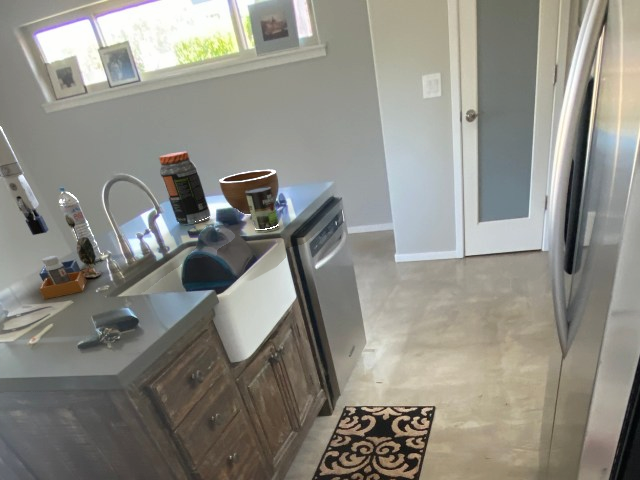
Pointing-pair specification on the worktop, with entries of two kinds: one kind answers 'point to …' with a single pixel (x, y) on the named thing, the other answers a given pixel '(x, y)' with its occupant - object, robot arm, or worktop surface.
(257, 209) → the coffee can
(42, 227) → the blue block
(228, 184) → the bowl
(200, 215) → the supplement tub
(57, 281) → the pill bottle
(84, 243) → the plant with pod
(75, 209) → the water bottle
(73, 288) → the amber bin
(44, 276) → the blue bin
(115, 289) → the worktop surface
